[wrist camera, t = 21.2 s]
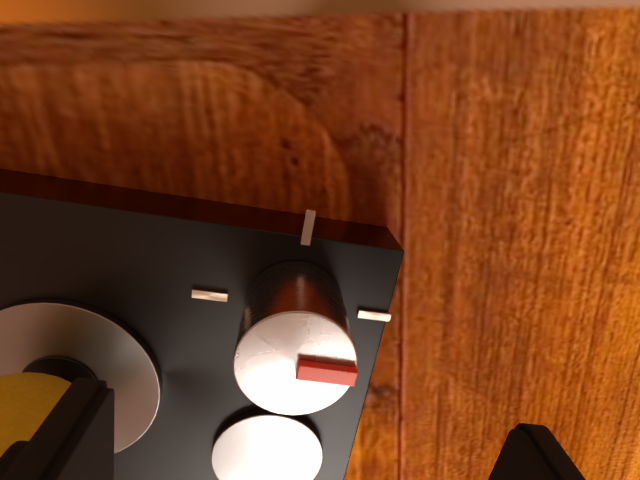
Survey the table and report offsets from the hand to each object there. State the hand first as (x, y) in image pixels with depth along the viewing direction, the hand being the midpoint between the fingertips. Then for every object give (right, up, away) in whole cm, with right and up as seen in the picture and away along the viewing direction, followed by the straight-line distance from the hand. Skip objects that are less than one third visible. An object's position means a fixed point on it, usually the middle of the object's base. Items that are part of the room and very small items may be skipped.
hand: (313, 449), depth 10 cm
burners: (-7, -2, +9) cm, 11 cm away
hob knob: (-1, +2, +7) cm, 8 cm away
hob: (-7, 0, +11) cm, 13 cm away
